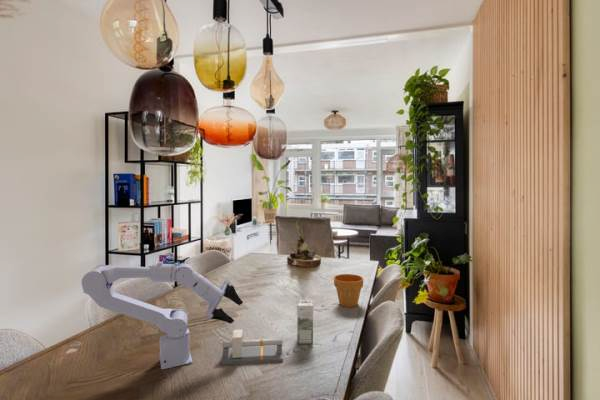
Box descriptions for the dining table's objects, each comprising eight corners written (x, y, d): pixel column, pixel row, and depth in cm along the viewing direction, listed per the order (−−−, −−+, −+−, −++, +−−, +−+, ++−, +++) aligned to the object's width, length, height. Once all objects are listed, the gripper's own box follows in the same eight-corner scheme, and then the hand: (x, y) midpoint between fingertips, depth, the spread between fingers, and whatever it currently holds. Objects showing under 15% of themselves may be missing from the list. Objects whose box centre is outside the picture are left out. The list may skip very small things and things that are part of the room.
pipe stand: (221, 365, 106) (220, 348, 106) (224, 351, 115) (224, 335, 115) (283, 361, 108) (282, 344, 108) (281, 348, 117) (281, 332, 117)
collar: (232, 357, 108) (232, 337, 108) (234, 348, 114) (234, 329, 114) (241, 357, 108) (241, 337, 108) (243, 348, 114) (242, 329, 114)
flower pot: (363, 310, 153) (363, 282, 153) (332, 308, 156) (332, 281, 156) (363, 300, 167) (363, 274, 167) (335, 298, 170) (335, 273, 170)
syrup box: (312, 337, 126) (311, 299, 126) (313, 344, 120) (313, 305, 120) (297, 337, 126) (297, 299, 125) (297, 344, 120) (297, 305, 119)
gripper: (200, 303, 103) (234, 327, 106) (221, 269, 114) (251, 292, 118) (190, 310, 107) (223, 333, 110) (211, 277, 119) (240, 298, 122)
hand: (236, 312), depth 114 cm, fingers open, 7 cm apart
